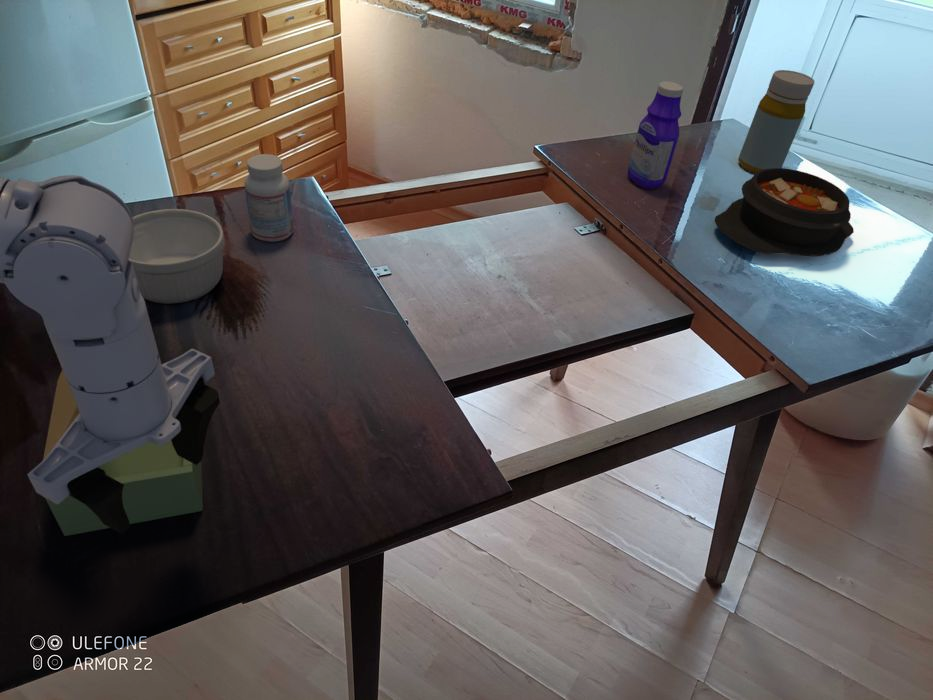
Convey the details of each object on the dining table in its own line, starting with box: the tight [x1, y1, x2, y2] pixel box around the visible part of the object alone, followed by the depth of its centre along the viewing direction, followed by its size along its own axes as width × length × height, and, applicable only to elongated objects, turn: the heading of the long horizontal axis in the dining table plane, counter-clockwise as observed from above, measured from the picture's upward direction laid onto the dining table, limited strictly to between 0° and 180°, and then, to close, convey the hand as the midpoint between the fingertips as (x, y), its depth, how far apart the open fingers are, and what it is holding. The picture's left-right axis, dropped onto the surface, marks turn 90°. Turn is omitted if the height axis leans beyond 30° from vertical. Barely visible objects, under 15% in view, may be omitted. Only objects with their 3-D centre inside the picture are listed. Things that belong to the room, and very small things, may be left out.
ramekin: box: [128, 208, 225, 305], centre depth 88 cm, size 13×13×7 cm
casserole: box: [714, 168, 854, 257], centre depth 111 cm, size 25×19×8 cm
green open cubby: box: [44, 440, 204, 537], centre depth 65 cm, size 12×14×6 cm
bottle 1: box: [627, 81, 684, 190], centre depth 119 cm, size 7×6×17 cm
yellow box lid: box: [42, 369, 80, 461], centre depth 59 cm, size 12×14×1 cm
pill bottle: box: [244, 153, 294, 243], centre depth 97 cm, size 6×6×11 cm
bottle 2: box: [737, 69, 815, 175], centre depth 128 cm, size 8×8×17 cm
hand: (155, 490), depth 54 cm, fingers open, 7 cm apart
